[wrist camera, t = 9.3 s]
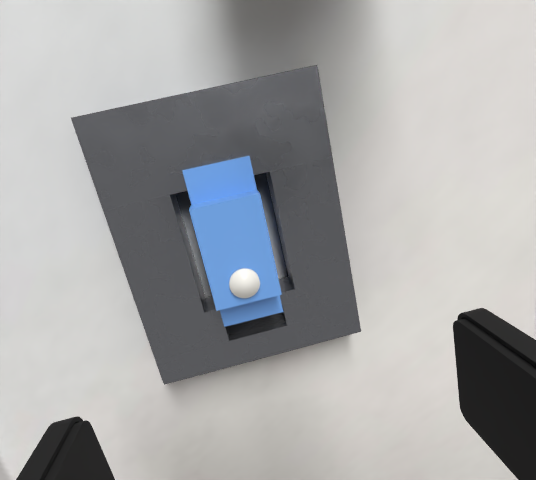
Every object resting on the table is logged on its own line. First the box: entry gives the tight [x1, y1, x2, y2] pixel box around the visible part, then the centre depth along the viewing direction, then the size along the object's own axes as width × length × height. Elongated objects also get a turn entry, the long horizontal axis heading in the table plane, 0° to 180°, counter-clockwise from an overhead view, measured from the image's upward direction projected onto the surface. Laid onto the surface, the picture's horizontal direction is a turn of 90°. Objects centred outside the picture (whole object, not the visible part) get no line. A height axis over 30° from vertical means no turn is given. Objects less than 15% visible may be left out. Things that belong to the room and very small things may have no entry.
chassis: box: [71, 65, 361, 384], centre depth 27 cm, size 16×20×3 cm
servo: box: [182, 156, 283, 327], centre depth 26 cm, size 4×12×6 cm, turn 12°
